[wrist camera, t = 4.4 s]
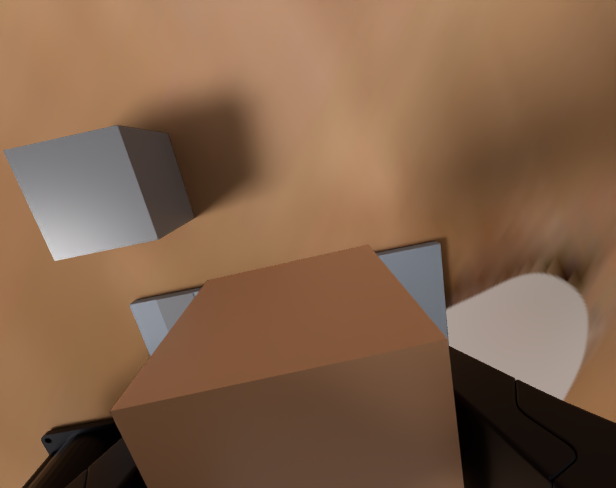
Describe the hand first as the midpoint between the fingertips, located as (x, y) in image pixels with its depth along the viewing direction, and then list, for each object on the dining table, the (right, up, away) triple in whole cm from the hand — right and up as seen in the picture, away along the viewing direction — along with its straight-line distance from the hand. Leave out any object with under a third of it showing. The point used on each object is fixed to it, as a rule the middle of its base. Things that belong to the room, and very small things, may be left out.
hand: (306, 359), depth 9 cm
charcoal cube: (-10, +7, +9) cm, 15 cm away
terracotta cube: (0, 0, +1) cm, 1 cm away
